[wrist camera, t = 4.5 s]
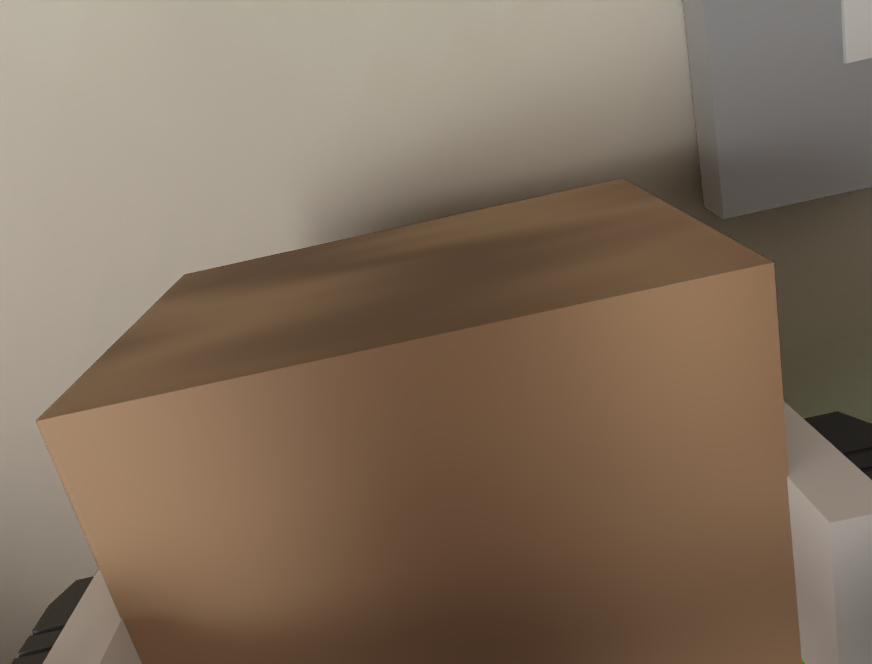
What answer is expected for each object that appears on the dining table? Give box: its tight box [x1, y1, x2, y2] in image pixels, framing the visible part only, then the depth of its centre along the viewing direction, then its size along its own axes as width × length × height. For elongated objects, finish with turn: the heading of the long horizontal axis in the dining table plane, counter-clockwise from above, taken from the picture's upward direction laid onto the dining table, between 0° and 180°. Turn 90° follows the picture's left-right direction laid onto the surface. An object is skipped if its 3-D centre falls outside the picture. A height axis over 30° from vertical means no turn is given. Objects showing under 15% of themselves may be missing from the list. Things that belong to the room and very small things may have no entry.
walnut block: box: [36, 178, 802, 664], centre depth 12 cm, size 8×8×6 cm
